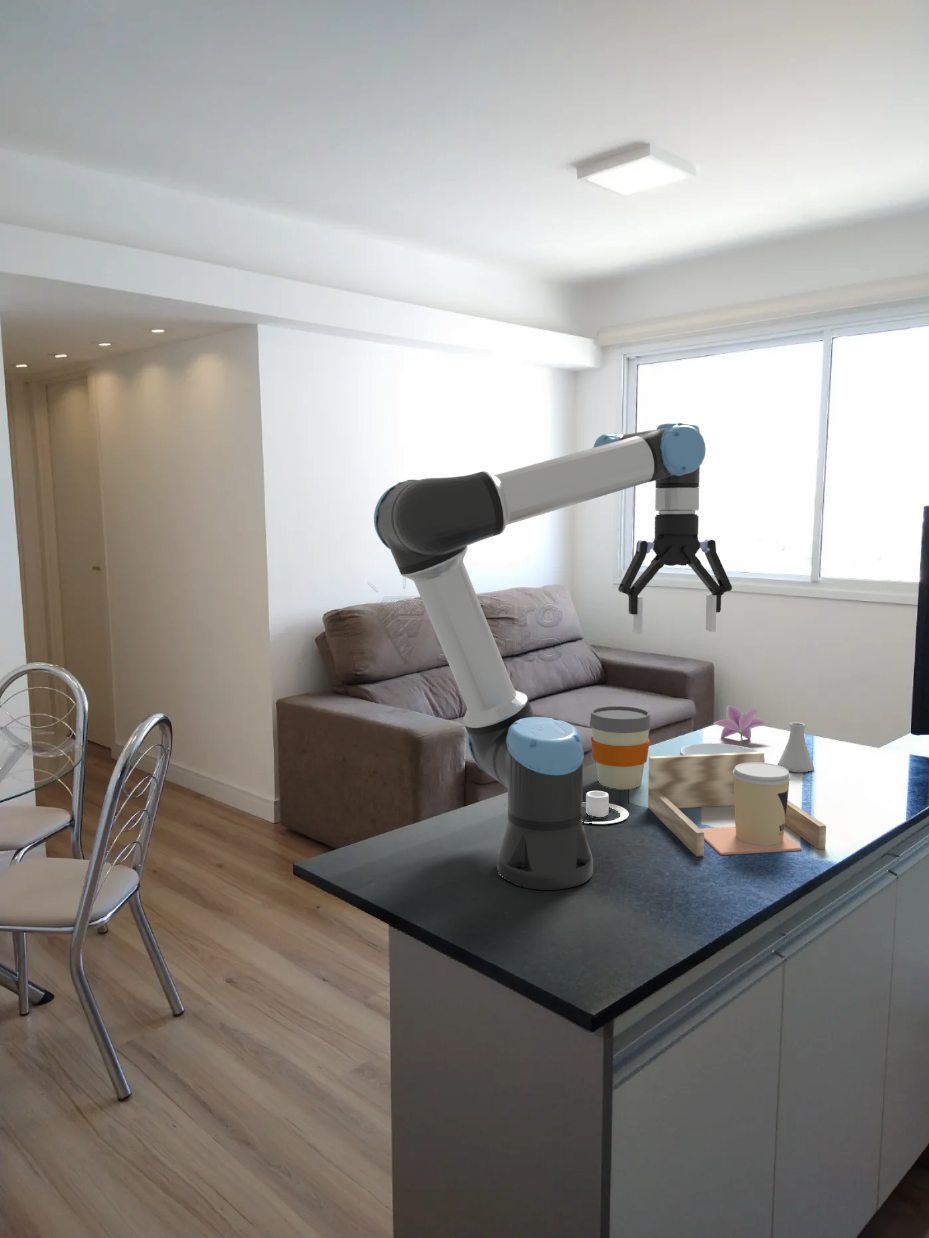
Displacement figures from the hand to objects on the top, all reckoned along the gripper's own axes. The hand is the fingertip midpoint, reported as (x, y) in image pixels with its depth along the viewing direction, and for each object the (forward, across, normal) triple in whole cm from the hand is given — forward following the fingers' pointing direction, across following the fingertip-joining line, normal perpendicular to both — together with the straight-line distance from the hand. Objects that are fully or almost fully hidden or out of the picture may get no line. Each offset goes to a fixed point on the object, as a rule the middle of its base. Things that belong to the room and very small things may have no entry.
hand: (674, 631), depth 157 cm
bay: (+35, -9, +6) cm, 36 cm away
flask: (+35, -38, -26) cm, 58 cm away
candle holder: (+35, +13, -4) cm, 38 cm away
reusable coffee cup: (+35, +3, -22) cm, 41 cm away
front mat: (+35, -9, +12) cm, 38 cm away
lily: (+35, -35, -49) cm, 70 cm away
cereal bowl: (+35, -17, -17) cm, 42 cm away
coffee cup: (+34, -11, +12) cm, 38 cm away
